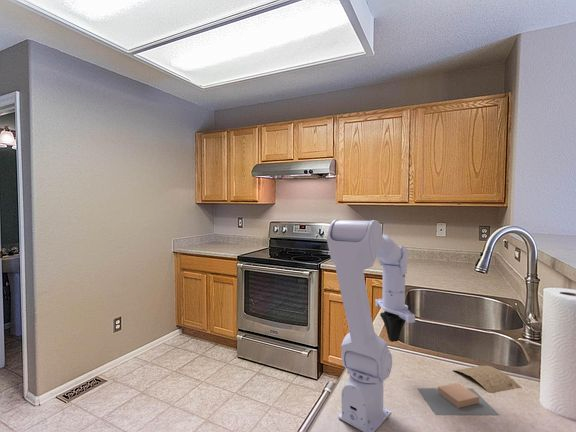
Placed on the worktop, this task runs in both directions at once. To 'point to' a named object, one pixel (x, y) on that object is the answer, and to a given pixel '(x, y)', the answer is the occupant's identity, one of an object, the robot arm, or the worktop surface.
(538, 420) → the worktop surface
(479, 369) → the clay tablet
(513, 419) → the worktop surface
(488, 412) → the mat
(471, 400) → the tile
